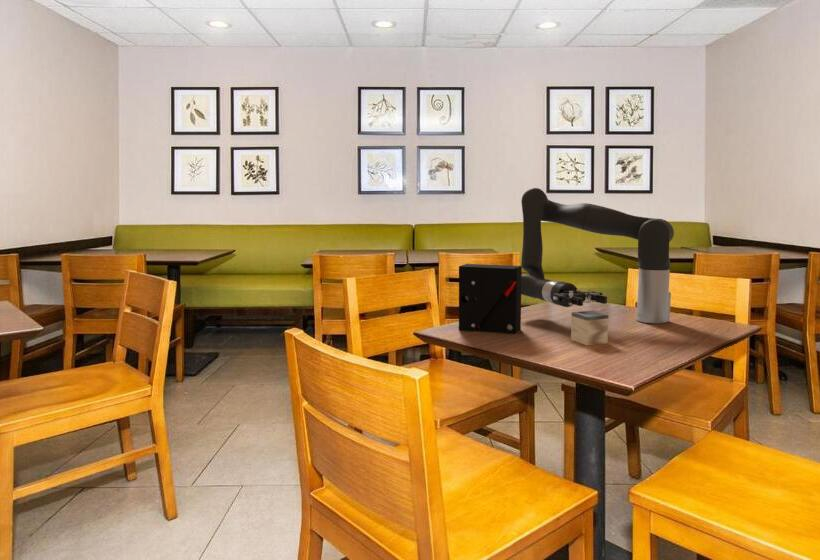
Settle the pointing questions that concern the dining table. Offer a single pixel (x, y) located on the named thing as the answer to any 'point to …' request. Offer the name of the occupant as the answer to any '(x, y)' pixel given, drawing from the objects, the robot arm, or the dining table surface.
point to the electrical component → (490, 298)
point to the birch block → (589, 327)
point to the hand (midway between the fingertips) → (594, 301)
